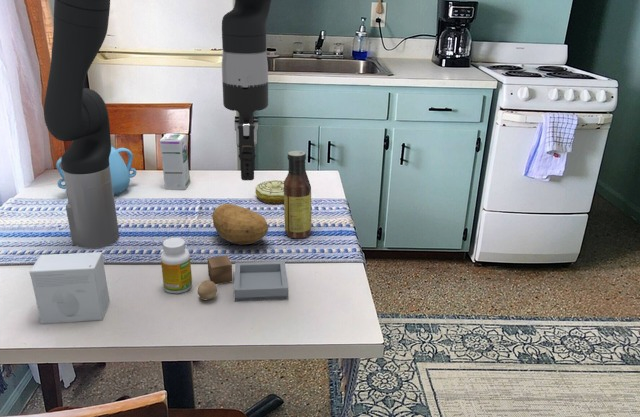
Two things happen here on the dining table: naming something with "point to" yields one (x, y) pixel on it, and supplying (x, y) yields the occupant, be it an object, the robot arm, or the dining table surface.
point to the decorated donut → (271, 191)
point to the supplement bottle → (176, 266)
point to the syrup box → (175, 161)
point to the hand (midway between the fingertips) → (247, 170)
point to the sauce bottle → (297, 197)
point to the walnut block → (220, 269)
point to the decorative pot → (112, 170)
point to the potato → (239, 224)
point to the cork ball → (207, 290)
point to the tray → (260, 281)
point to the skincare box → (70, 287)
